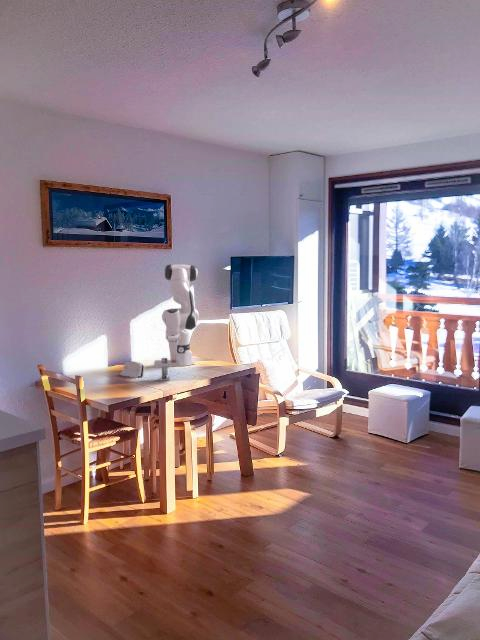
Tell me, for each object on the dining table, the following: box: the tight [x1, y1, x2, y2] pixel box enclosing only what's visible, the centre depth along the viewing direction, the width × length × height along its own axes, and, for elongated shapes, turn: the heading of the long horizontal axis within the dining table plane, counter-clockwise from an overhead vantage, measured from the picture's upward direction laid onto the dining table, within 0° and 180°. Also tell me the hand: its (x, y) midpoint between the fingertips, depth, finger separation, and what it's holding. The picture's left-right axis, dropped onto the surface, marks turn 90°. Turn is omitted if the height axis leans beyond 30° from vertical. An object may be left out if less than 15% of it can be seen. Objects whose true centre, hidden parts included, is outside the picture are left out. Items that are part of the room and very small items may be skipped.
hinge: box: [119, 360, 146, 379], centre depth 346 cm, size 17×5×10 cm, turn 52°
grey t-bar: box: [153, 357, 181, 382], centre depth 334 cm, size 10×15×13 cm, turn 96°
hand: (173, 358), depth 333 cm, fingers closed on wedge, 2 cm apart
